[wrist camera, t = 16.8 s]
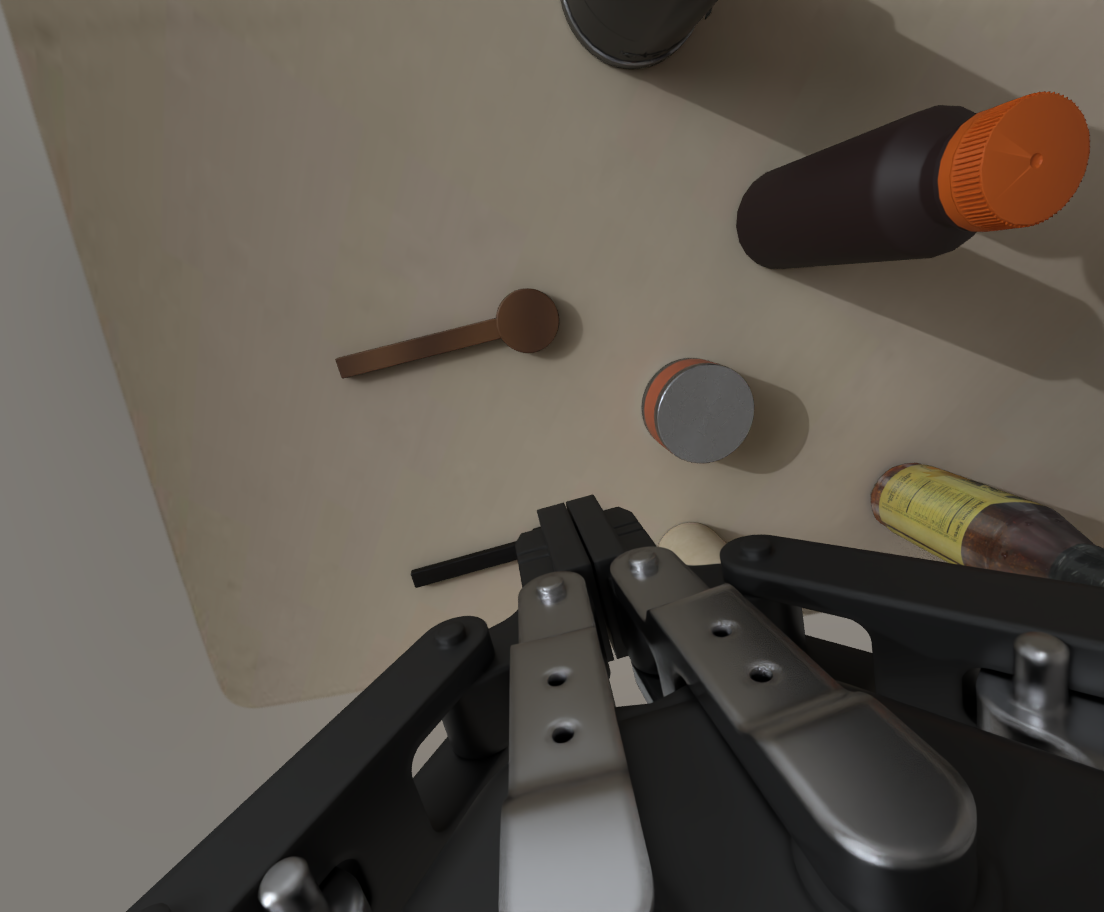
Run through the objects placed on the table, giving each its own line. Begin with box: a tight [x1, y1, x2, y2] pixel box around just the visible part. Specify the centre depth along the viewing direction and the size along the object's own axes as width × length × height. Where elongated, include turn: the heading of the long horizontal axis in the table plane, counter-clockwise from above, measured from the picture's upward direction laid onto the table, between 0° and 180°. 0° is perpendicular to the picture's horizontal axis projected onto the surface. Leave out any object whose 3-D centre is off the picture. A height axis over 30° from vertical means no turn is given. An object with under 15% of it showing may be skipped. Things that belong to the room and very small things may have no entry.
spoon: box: [335, 289, 559, 378], centre depth 41 cm, size 16×4×1 cm, turn 103°
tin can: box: [642, 358, 754, 463], centre depth 43 cm, size 7×7×4 cm
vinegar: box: [736, 91, 1090, 269], centre depth 32 cm, size 7×7×20 cm
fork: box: [411, 527, 541, 588], centre depth 46 cm, size 16×3×1 cm, turn 103°
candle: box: [658, 522, 726, 565], centre depth 44 cm, size 6×6×10 cm
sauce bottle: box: [871, 463, 1104, 587], centre depth 40 cm, size 6×6×20 cm
